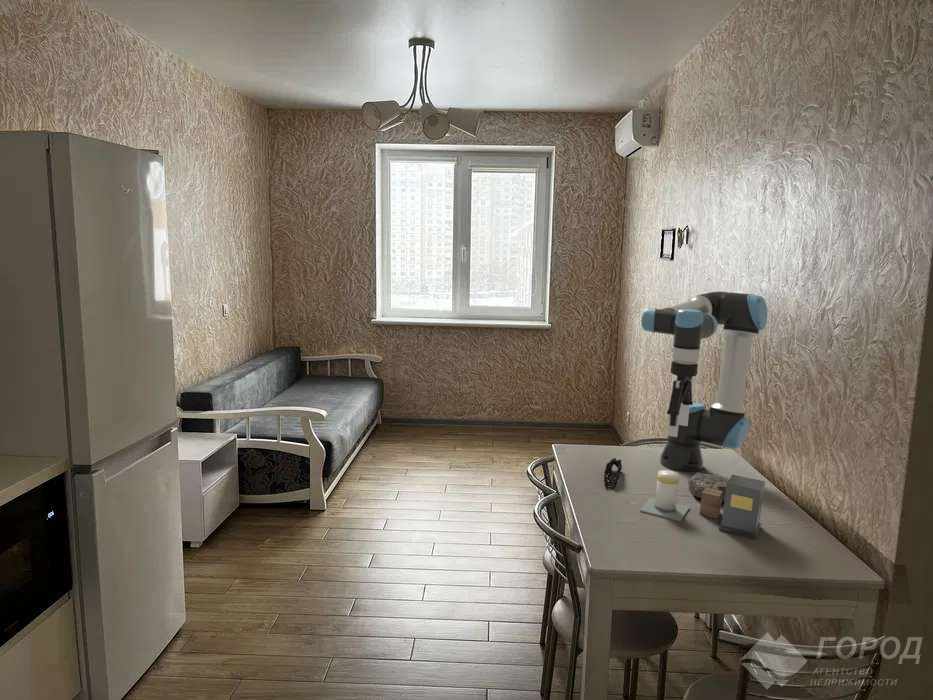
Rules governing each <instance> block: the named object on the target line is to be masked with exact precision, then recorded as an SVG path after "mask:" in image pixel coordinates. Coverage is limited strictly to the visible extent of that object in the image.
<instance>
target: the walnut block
mask: <svg viewBox="0 0 933 700" xmlns="http://www.w3.org/2000/svg"><path fill="white" fill-rule="evenodd" d="M722 493H723V491H719V490H714V489H710V488H705V489H704V490H703V492H702V498H700V499H701V500H700V507H699V515H700V514H703V515H702V516H704V515H707V516H706V517H708V516H711V517H710V518H712V517H714V518H713V519H718V517H719V516H720V514H719V513H721V507H722V502H721V501H722ZM718 515H719V516H718Z"/></svg>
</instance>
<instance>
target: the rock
mask: <svg viewBox="0 0 933 700" xmlns="http://www.w3.org/2000/svg"><path fill="white" fill-rule="evenodd" d="M727 482H728V481H726V480H724V478H723V477H722V476H721V475H717V474H708V473H702V472H696V474H693V475H692V476H691V477H689V478H688V480H687V485H688V488H689V489H688V490H690V491H691V492H692V495H693V496H694V497H697V498H700V499H701V498H702V492H703V490H704V489H705V488H710V489H714V490H719V491H723V493H722V502H721V503H724V501H725V493H726V485H727Z"/></svg>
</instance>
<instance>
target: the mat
mask: <svg viewBox="0 0 933 700" xmlns="http://www.w3.org/2000/svg"><path fill="white" fill-rule="evenodd" d="M655 500H656V498H653V497H650V498H649V499H648V500H647V501H646V502H645V503H644V505H643V506H641V508H640V509H639V512H641V513H645V514H649V515H653V516H656V517H661V518H665V519H668V520H672V521H676V522H682V520H683V518H685V516H686V514H688V511H689V510H690V506H686V505H682V504H677V503H676V510H675V511H674V512H663V511H659V510H657V509H656V508H655V507H654V506H655ZM688 509H689V510H688Z"/></svg>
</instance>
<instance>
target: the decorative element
mask: <svg viewBox="0 0 933 700" xmlns="http://www.w3.org/2000/svg"><path fill="white" fill-rule="evenodd" d="M614 465H615V467H617V471H616V472H613V471H612V468H613V467H614ZM622 468H623V466H622V459H618V460H617V458H615V457H613V458H611V459H610V461H609V462H607V463H606V465H605V469H604V474H603V482H604V483H603V484H604V487H605V488H606V489H607V488H610V489H609V490H614V489H615V488H616V486H617V484H618V481H619V479H620V478H619V477H620V474H621V471H622ZM610 478H611V479H610ZM608 486H609V487H608ZM610 486H612V487H610ZM611 488H612V489H611Z"/></svg>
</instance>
